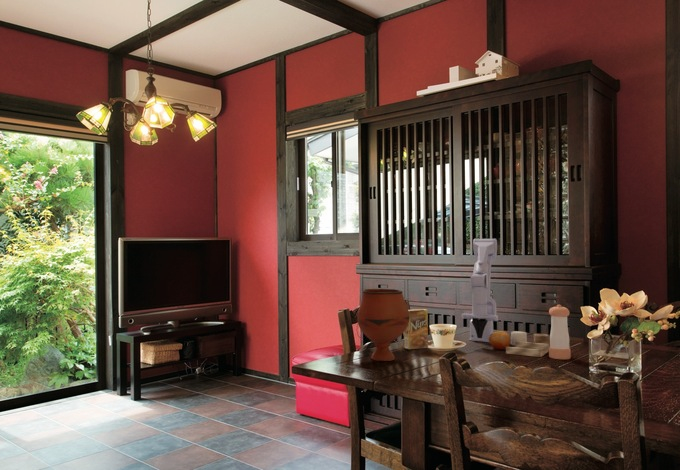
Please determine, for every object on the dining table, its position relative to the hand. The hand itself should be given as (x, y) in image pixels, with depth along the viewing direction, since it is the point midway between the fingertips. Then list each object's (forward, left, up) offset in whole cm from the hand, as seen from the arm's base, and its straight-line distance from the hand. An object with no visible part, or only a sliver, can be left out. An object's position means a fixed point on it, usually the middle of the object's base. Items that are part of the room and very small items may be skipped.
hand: (479, 337), depth 219 cm
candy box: (-21, -15, -4) cm, 26 cm away
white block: (+12, +13, -4) cm, 18 cm away
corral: (+19, 0, -4) cm, 19 cm away
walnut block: (+21, +12, -4) cm, 25 cm away
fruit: (+8, 0, -4) cm, 9 cm away
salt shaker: (+31, -4, -4) cm, 31 cm away
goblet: (-23, -39, -4) cm, 45 cm away
